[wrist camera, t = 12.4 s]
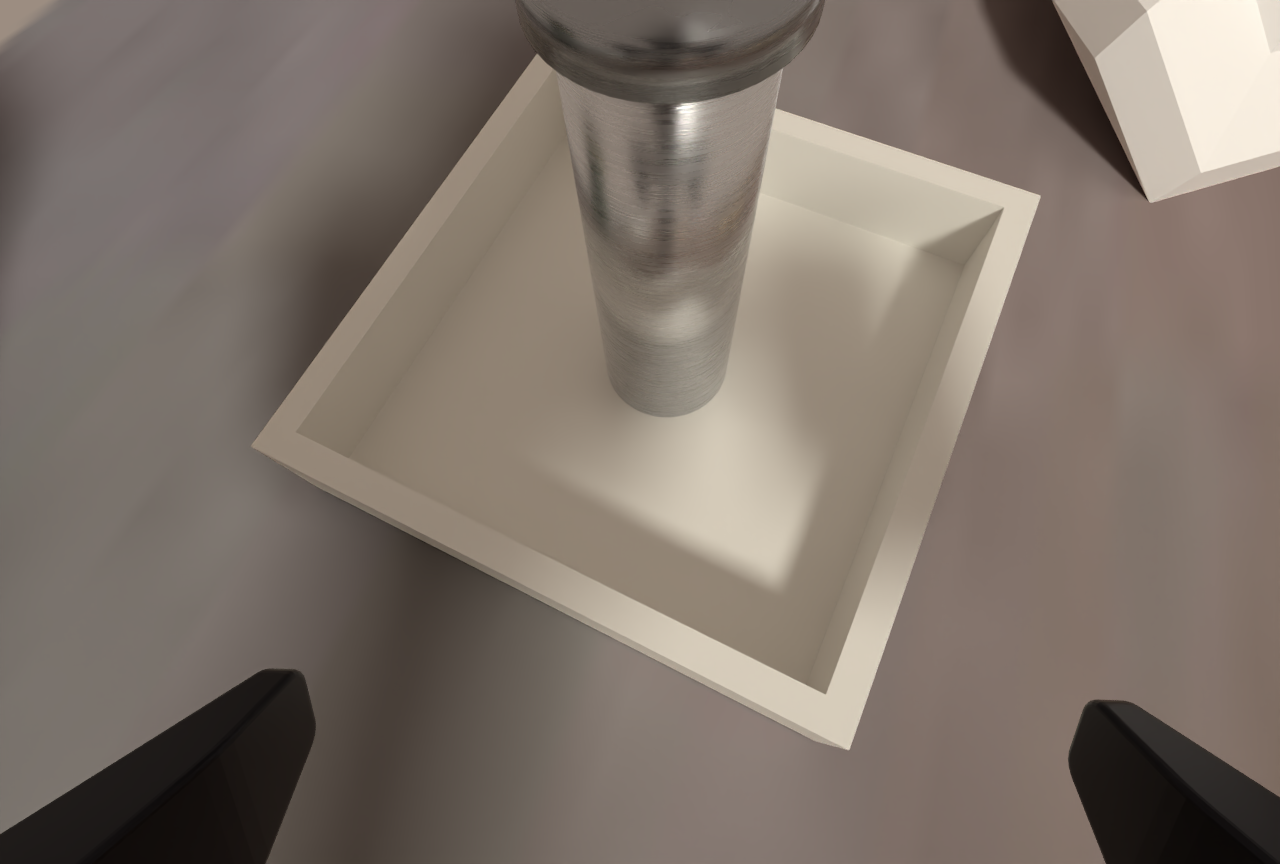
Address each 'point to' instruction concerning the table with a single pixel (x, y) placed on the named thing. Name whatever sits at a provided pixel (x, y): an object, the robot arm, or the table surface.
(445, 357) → the tray
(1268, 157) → the white tetrapod block
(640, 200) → the steel pin
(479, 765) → the table surface
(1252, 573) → the table surface
